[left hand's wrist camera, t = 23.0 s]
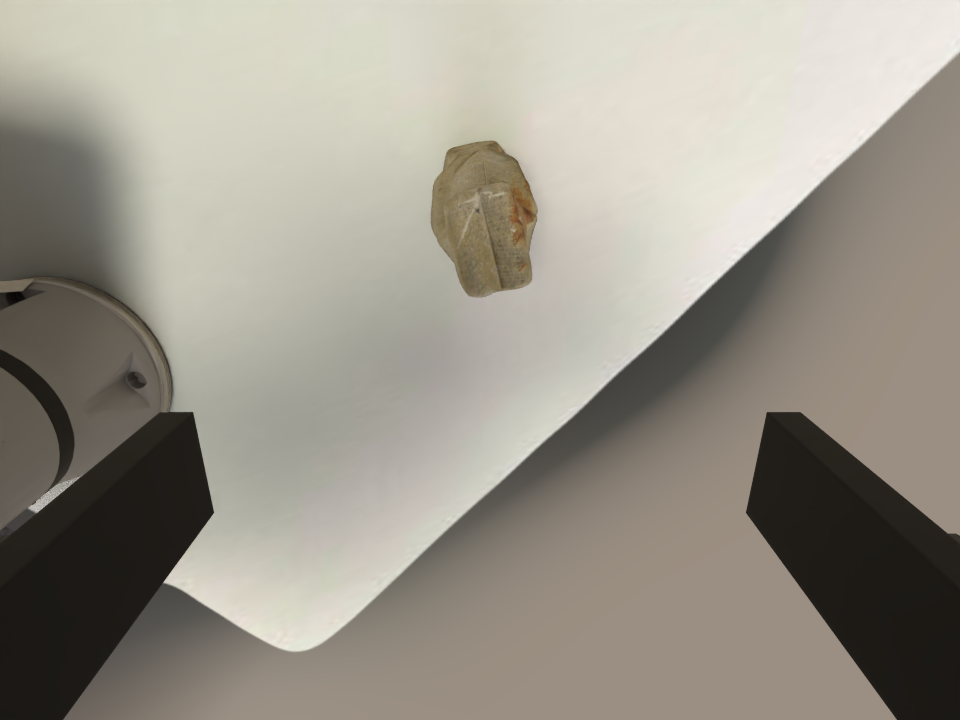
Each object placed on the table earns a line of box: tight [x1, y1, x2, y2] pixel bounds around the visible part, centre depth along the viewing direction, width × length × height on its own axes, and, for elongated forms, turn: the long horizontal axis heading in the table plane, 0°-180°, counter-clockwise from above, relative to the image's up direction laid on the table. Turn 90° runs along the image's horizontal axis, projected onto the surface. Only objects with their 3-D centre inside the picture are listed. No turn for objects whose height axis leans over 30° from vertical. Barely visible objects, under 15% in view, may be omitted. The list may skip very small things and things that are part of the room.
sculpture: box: [431, 141, 538, 297], centre depth 31 cm, size 6×7×15 cm
